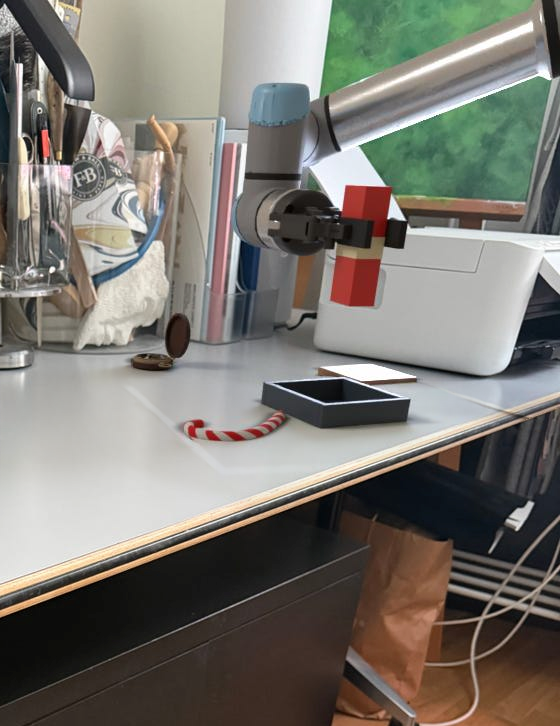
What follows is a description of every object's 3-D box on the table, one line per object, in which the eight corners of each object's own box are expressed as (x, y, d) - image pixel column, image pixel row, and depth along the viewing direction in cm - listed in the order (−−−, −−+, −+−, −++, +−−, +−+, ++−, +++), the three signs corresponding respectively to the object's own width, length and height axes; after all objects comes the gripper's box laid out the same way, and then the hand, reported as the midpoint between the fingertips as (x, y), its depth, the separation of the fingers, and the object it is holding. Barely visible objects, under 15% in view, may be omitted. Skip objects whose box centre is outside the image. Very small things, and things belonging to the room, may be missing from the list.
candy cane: (308, 414, 104) (230, 437, 95) (307, 426, 105) (228, 450, 95) (250, 402, 109) (170, 423, 99) (249, 413, 110) (169, 435, 100)
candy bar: (354, 300, 108) (370, 185, 103) (374, 306, 104) (393, 186, 98) (329, 300, 107) (344, 184, 102) (348, 306, 103) (366, 186, 98)
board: (415, 384, 127) (417, 377, 126) (360, 388, 124) (361, 380, 123) (370, 370, 135) (371, 363, 135) (317, 373, 132) (318, 366, 132)
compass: (122, 363, 136) (124, 311, 132) (171, 361, 138) (174, 309, 135) (147, 374, 129) (150, 319, 126) (197, 371, 132) (201, 317, 128)
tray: (406, 425, 106) (411, 398, 105) (320, 432, 102) (324, 405, 101) (340, 401, 117) (344, 376, 115) (260, 407, 113) (263, 381, 111)
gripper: (351, 254, 121) (449, 273, 101) (233, 253, 118) (308, 273, 98) (360, 190, 118) (463, 196, 97) (238, 187, 115) (318, 193, 94)
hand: (385, 234), depth 97 cm, fingers closed on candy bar, 3 cm apart
